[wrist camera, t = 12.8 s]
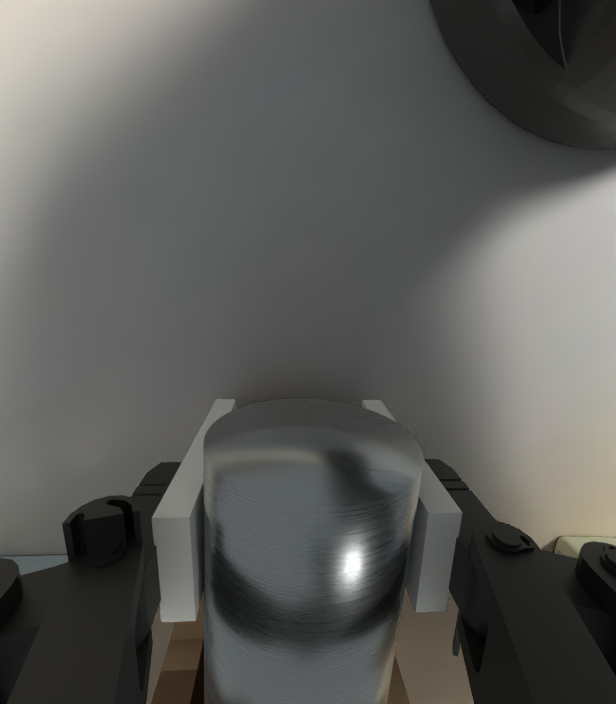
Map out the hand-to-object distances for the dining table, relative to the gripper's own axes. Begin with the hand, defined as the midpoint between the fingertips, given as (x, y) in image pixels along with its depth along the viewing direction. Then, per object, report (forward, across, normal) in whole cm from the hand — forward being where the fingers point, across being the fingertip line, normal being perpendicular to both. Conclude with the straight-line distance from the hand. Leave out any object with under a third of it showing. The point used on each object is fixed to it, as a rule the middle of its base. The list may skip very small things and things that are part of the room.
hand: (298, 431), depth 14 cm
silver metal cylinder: (-3, 0, -2) cm, 4 cm away
